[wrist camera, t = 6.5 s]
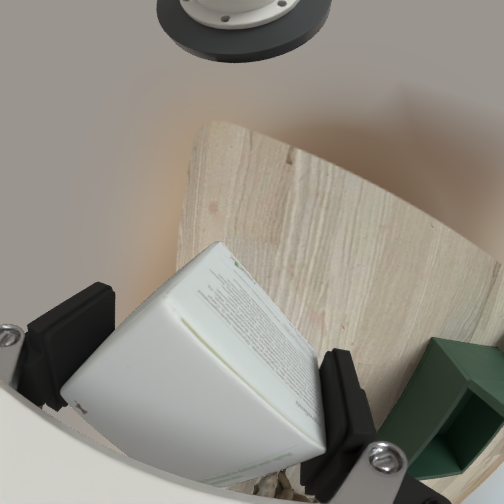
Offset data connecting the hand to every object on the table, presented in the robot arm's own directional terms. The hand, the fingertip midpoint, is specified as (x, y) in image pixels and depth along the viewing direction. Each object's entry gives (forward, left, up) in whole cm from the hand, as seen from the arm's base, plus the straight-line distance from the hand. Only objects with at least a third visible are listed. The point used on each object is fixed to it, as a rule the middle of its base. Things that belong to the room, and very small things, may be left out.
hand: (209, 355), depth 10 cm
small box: (0, 0, -1) cm, 1 cm away
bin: (+13, +27, -18) cm, 35 cm away
